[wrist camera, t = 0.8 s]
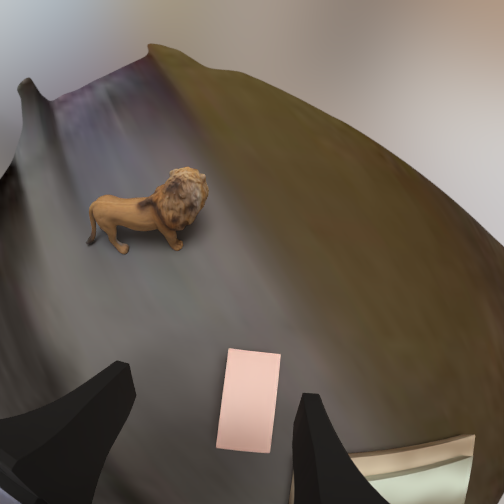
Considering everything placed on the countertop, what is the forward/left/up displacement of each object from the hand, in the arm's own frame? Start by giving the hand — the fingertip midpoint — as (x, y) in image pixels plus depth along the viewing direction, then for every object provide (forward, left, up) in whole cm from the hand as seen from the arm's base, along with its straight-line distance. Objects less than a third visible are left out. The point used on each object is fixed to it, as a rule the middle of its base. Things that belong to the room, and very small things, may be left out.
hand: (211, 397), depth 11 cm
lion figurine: (+16, +10, -16) cm, 25 cm away
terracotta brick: (0, -2, -16) cm, 16 cm away
